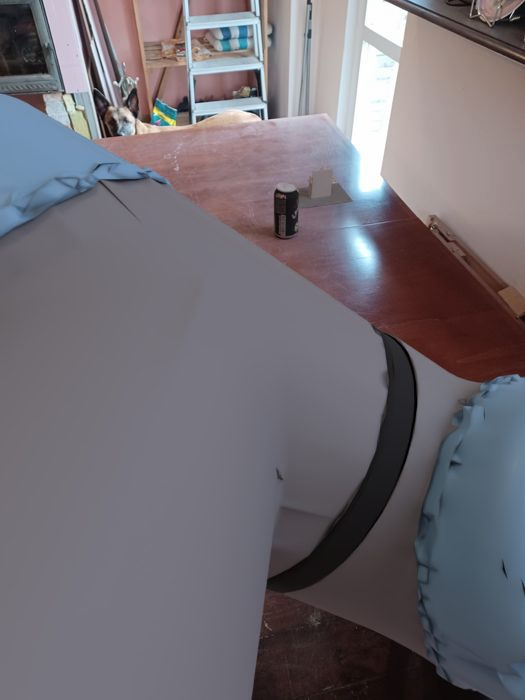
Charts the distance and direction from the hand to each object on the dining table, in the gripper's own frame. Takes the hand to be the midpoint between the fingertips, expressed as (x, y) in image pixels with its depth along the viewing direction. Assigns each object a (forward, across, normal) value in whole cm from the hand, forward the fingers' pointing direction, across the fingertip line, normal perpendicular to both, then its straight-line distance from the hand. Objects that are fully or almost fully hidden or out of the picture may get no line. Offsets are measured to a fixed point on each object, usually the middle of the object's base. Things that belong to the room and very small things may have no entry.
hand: (177, 447), depth 43 cm
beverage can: (+55, +57, +21) cm, 82 cm away
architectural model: (+62, +77, +28) cm, 103 cm away
